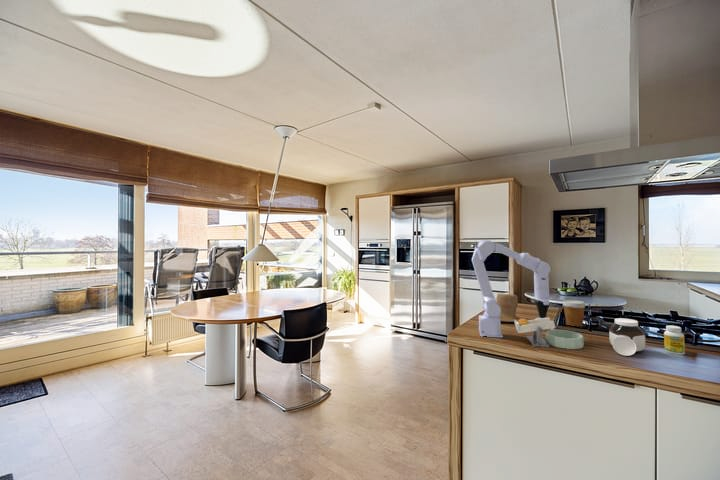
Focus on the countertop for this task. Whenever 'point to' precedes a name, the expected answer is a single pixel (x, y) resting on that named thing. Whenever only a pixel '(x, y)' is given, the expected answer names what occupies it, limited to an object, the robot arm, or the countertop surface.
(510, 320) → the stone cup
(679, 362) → the countertop surface
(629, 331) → the spread jar
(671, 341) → the supplement bottle
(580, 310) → the disposable coffee cup
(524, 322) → the ball
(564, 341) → the green round bowl
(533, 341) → the launcher stand
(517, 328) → the tipping trough
